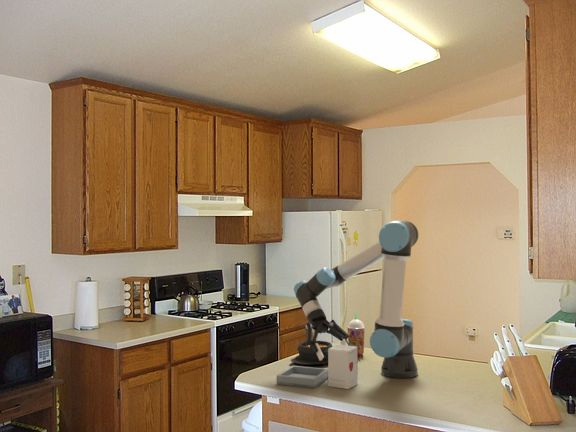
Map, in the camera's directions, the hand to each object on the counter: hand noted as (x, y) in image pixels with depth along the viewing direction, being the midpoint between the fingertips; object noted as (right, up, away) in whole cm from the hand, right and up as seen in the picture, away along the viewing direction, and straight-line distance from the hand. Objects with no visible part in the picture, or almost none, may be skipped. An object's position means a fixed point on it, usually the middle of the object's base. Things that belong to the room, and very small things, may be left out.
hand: (336, 356), depth 237 cm
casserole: (-7, -11, +34) cm, 36 cm away
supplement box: (+3, -11, -3) cm, 12 cm away
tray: (-13, -11, +4) cm, 17 cm away
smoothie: (+13, -10, +45) cm, 48 cm away
